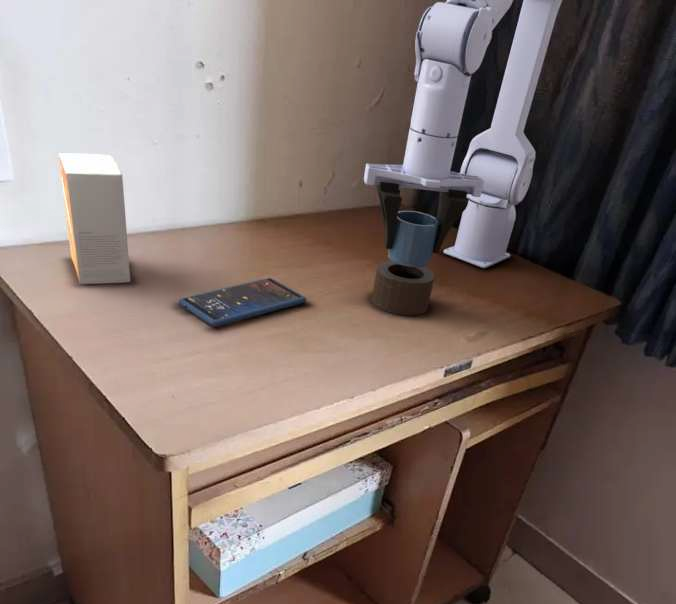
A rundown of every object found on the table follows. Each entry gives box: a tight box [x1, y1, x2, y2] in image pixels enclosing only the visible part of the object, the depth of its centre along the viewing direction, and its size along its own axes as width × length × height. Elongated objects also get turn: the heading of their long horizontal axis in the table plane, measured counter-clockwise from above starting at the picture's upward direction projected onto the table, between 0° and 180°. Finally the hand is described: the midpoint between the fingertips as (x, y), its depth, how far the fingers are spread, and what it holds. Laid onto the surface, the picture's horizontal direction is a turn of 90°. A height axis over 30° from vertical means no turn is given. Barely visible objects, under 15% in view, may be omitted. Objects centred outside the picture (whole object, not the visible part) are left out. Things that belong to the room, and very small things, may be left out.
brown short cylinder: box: [371, 259, 435, 317], centre depth 90 cm, size 8×8×4 cm
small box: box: [58, 153, 131, 285], centre depth 82 cm, size 8×6×13 cm
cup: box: [387, 210, 439, 267], centre depth 85 cm, size 6×6×5 cm
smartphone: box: [178, 277, 307, 328], centre depth 84 cm, size 8×1×15 cm
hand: (410, 248), depth 86 cm, fingers closed on cup, 6 cm apart
